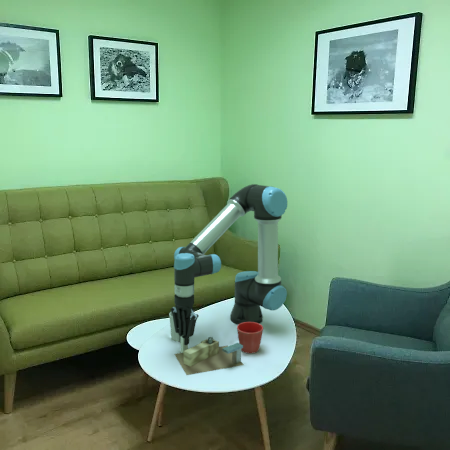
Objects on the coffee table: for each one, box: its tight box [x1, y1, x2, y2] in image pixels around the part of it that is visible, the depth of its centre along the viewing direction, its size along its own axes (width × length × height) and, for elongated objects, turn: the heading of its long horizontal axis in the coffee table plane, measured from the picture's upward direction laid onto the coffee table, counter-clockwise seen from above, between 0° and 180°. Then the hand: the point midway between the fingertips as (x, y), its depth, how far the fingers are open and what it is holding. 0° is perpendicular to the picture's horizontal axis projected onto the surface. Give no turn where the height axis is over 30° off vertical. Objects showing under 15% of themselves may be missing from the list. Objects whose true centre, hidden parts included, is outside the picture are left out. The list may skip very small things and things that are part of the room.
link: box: [184, 338, 220, 366], centre depth 180 cm, size 15×5×5 cm, turn 139°
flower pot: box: [236, 322, 264, 354], centre depth 190 cm, size 11×11×10 cm
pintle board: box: [174, 345, 245, 376], centre depth 180 cm, size 22×17×1 cm
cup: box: [168, 311, 180, 343], centre depth 196 cm, size 8×8×12 cm
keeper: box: [222, 342, 243, 364], centre depth 176 cm, size 3×8×7 cm, turn 131°
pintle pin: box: [207, 336, 214, 344], centre depth 184 cm, size 2×2×6 cm
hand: (184, 351), depth 183 cm, fingers closed
